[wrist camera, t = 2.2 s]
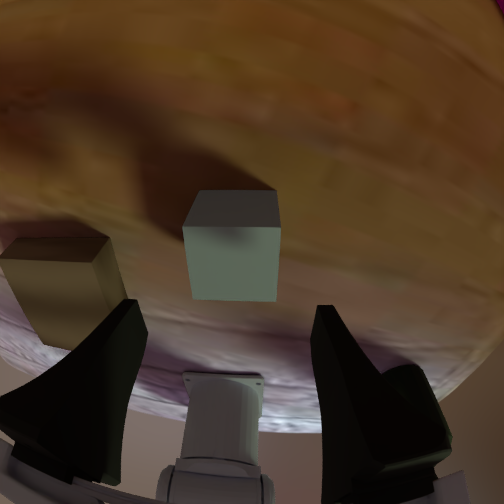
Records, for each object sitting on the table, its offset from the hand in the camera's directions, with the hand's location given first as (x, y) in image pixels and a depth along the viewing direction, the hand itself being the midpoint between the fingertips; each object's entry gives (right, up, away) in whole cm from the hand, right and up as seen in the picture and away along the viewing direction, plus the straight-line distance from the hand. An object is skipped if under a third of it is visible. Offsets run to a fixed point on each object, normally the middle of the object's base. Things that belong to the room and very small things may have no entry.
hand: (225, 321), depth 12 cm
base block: (-14, 0, +10) cm, 17 cm away
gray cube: (0, +5, +7) cm, 8 cm away
